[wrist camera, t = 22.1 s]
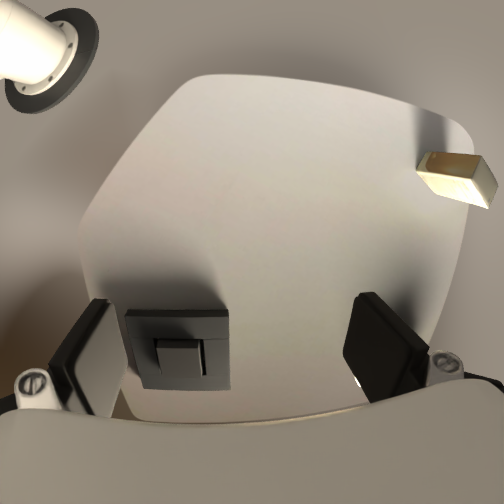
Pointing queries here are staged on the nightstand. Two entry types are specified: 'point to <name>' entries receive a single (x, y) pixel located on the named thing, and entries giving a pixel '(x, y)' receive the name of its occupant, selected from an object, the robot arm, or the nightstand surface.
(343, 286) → the nightstand surface
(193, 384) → the frame pad
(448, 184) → the cosmetic box
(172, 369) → the dark grey square block
